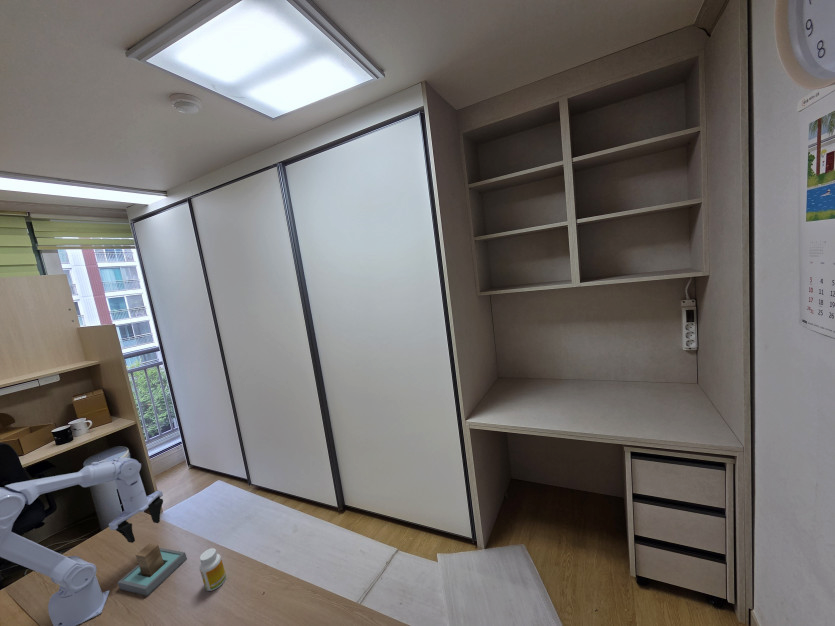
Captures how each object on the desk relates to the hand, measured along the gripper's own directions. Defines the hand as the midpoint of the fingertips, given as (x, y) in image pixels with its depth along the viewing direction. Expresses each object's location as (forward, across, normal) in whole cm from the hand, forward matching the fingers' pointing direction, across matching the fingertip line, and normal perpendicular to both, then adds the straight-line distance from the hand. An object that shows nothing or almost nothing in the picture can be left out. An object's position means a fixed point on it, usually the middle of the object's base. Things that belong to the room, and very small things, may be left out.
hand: (144, 531), depth 107 cm
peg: (+10, -4, -6) cm, 12 cm away
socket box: (+10, -4, -6) cm, 13 cm away
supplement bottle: (+11, -3, -30) cm, 32 cm away
